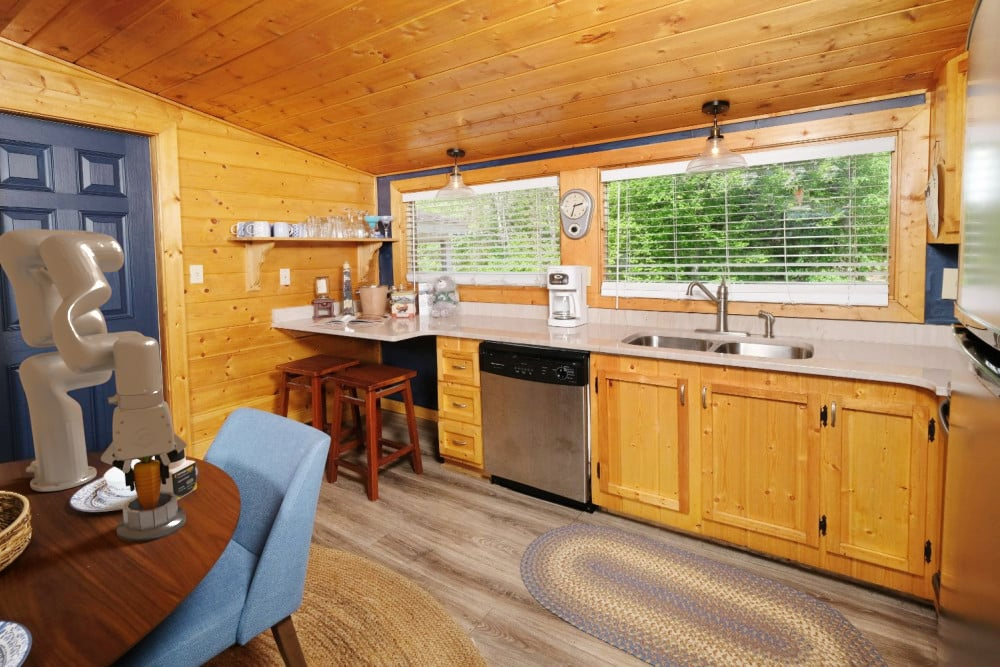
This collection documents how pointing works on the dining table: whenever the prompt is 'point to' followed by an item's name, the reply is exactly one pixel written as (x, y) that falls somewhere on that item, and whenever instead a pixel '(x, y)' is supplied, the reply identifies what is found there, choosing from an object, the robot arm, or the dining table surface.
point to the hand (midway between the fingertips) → (148, 484)
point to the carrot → (147, 481)
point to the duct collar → (150, 519)
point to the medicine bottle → (180, 475)
